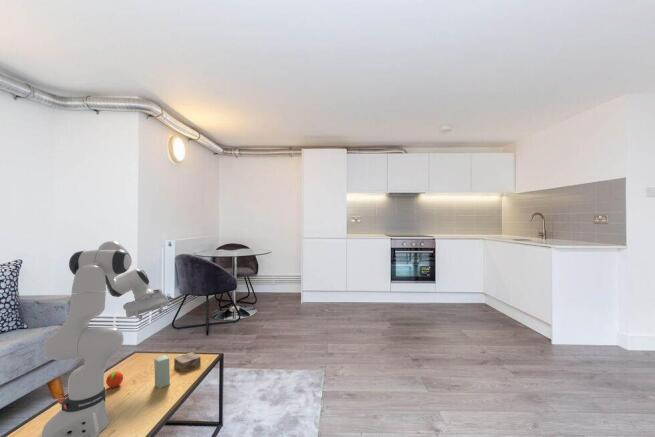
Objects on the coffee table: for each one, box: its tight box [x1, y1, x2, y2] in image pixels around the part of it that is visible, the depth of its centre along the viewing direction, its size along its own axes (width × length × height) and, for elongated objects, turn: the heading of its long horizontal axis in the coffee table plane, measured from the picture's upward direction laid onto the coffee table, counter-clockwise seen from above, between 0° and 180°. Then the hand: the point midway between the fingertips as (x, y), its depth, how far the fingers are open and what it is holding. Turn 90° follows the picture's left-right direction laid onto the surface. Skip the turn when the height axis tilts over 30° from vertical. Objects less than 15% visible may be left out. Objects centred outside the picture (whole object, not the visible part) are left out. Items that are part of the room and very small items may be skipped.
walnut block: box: [173, 351, 202, 373], centre depth 173 cm, size 10×10×4 cm
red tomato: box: [105, 371, 124, 388], centre depth 153 cm, size 8×7×7 cm
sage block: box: [153, 354, 171, 389], centre depth 154 cm, size 5×5×13 cm
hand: (150, 315), depth 163 cm, fingers open, 8 cm apart
